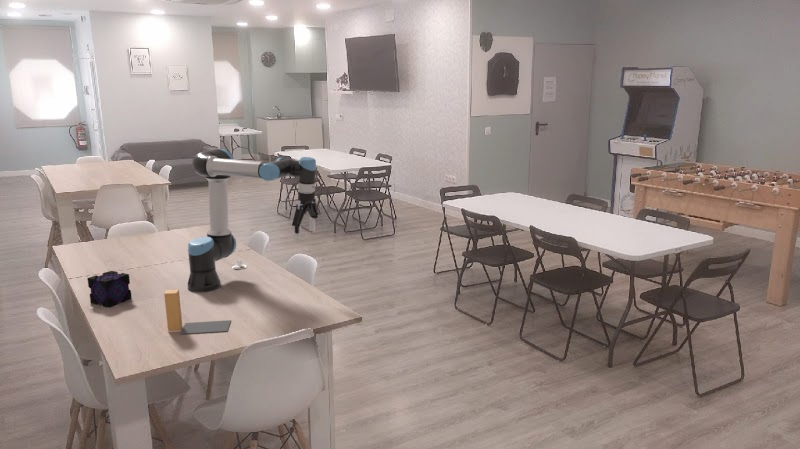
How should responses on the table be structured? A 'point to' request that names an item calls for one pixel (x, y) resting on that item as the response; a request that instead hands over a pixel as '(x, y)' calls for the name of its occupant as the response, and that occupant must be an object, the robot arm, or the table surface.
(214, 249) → the robot arm
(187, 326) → the mat
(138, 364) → the table surface
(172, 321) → the tall block
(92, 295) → the energy cube
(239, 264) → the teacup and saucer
